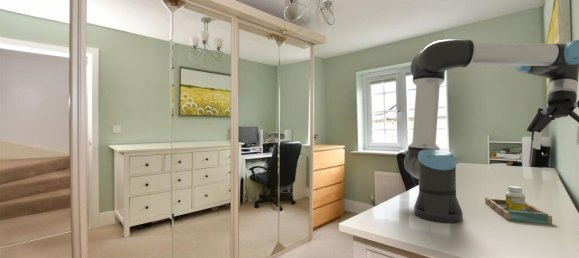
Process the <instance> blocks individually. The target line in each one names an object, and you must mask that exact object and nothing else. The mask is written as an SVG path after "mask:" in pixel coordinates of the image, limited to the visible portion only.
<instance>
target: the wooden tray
mask: <svg viewBox="0 0 579 258" xmlns="http://www.w3.org/2000/svg"><path fill="white" fill-rule="evenodd" d="M484 202H485V204H486V205H487V206H488V207H489V208H491V209H492V210H493V211H494V212H496V213H497V214H498V215H500V216H501V217H502V218H503V219H504V220H506V221H516V222H517V221H518V222H527V223H537V224H548V225H553V216H552V215H550V214H549V213H547V212H545V211H543V210H541V209H540V208H537V207H536V206H534V205H532V204H529V203H528V202H526V201H525V212H524V211H512V210H508V211H506V199H499V198H497V199H496V198H489V197H488V196H485V197H484Z"/></svg>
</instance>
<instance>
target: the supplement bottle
mask: <svg viewBox="0 0 579 258" xmlns="http://www.w3.org/2000/svg"><path fill="white" fill-rule="evenodd" d="M522 192H523V187H520V186H516V185H509V186H507V191H506V192H505V200H506V211H508V210H512V211H524V212H526V211H525V202H526V196H525V194H524V193H522Z"/></svg>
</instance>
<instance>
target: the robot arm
mask: <svg viewBox="0 0 579 258" xmlns="http://www.w3.org/2000/svg"><path fill="white" fill-rule="evenodd" d="M472 65H473V66H515V69H516V71H518V72H521V73H523V74H529V75H533V76H537V77H542V78H547V79H549V83H548V84H549V85H548V92H547V94H548V95H547V101H546V102H547V108H541V107H539V108H538V109H537V112H536V115H535V116H534V117H533V120H531V122H530V123H529V125H528V127H527V129H526V131H527V132H529V133H531V140H532V147H531V148H533V149H536V150H541V146H542V145H541V144H542V136H543V133H542V131H543V130H545V128H546V127H547V126H548V125H549V124H550V123H551V122H552V121H555V120H556V119H560V118H566V117H568V116H569V117H570V118H572V119H573V120H575V122H577V123H578V124H579V115H578V113H577V112H576V111H575V109H576V108H578V109H579V100H577V98H578V94H577V93H578V85H579V39H576V40H572V41H568V42H567V43H566V42H565V43H529V42H528V43H525V42H524V43H519V42H515V43H512V42H511V43H508V42H474V40H472V39H443V40H437V41H434V42H432V43H430V44H428V45H427V46H426V47H425V48H424V49H422V50H421V51H420V52H419V53H417V54H416V55H415V56H414V58H413V59H412V60H411V63H410V66H409V67H410V73H411V76H412V83H413V84H414V85H415V98H414V99H415V100H414V101H415V102H414V117H413V130H412V142H411V143H410V144H408V145H407V146H408V147H407V154H406V155H405V157H404V160H403V164H404V165H403V166H404V169H405V170H406V172H407V173H408V174H409V175H410V176H411V177H413V178H414V179H417V180H418V195H417V198H416V200H415V203H414V206H413V207H414V208H413V214H414V215H415V216H417V217H419V218H421V219H423V220H427V221H432V222H438V223H449V224H450V223H460V222H462V221H463V219H464V217H463V216H464V215H463V214H464V213H463V210H462V208H461V204H460V202H459V200H458V197H457V162H456V155H455V154H454V153H453V152H451V151H448V150H442V149H441V148H440V147H439V146H438V145H437V133H438V132H437V131H438V130H437V129H438V118H439V117H438V114H439V103H440V102H439V101H440V100H439V99H440V86H441V85H442V84H443V83H444V82H445V79H446V78H445V77H446V75H445V74H446V71H448V70H452V69H459V68H467V67H469V66H472ZM576 131H577V133H576V134H577V135H576V145H578V146H579V125H578V126H577V130H576Z"/></svg>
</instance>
